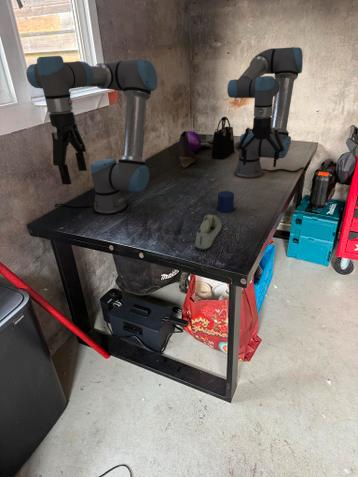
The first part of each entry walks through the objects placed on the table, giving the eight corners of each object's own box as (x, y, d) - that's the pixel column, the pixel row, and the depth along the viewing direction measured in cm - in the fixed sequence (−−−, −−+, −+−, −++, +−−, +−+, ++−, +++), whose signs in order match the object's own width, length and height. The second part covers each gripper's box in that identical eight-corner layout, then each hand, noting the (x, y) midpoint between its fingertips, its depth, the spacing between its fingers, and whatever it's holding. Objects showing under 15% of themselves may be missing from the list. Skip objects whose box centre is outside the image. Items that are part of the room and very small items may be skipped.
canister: (217, 205, 154) (217, 191, 151) (232, 205, 154) (233, 190, 150) (218, 212, 148) (218, 197, 144) (234, 212, 148) (234, 196, 144)
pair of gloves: (199, 151, 237) (198, 143, 234) (184, 143, 257) (184, 136, 255) (235, 144, 246) (235, 137, 244) (218, 138, 267) (218, 131, 264)
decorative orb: (204, 151, 235) (204, 129, 228) (194, 156, 225) (193, 134, 217) (186, 149, 243) (186, 128, 235) (175, 154, 232) (174, 132, 224)
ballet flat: (225, 222, 139) (225, 205, 135) (213, 252, 119) (212, 233, 115) (205, 220, 141) (205, 203, 137) (190, 250, 121) (189, 231, 117)
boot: (197, 157, 223) (197, 126, 213) (191, 168, 203) (190, 135, 193) (185, 157, 225) (183, 126, 215) (178, 168, 205) (176, 135, 195)
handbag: (222, 159, 215) (223, 120, 203) (210, 158, 220) (210, 119, 207) (235, 151, 230) (236, 114, 218) (223, 150, 234) (224, 113, 222)
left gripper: (54, 119, 92) (70, 190, 102) (87, 105, 113) (98, 165, 124) (29, 120, 93) (48, 190, 104) (66, 106, 114) (79, 165, 125)
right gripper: (231, 118, 142) (230, 165, 153) (291, 119, 132) (286, 170, 143) (236, 114, 147) (235, 160, 158) (294, 115, 138) (288, 164, 149)
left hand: (75, 177), depth 114 cm, fingers open, 13 cm apart
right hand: (259, 165), depth 151 cm, fingers open, 13 cm apart
